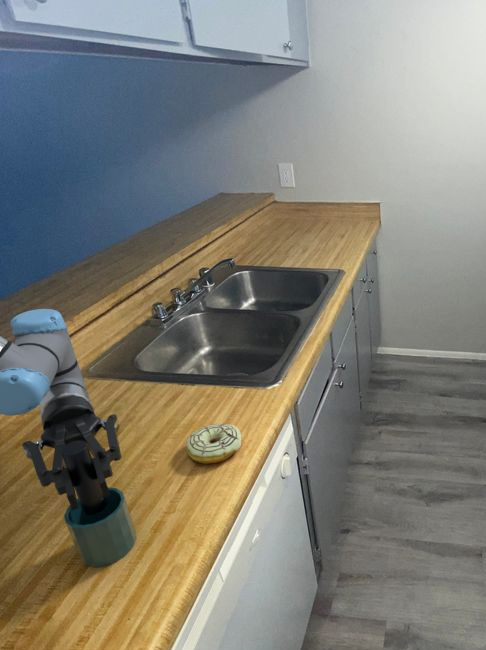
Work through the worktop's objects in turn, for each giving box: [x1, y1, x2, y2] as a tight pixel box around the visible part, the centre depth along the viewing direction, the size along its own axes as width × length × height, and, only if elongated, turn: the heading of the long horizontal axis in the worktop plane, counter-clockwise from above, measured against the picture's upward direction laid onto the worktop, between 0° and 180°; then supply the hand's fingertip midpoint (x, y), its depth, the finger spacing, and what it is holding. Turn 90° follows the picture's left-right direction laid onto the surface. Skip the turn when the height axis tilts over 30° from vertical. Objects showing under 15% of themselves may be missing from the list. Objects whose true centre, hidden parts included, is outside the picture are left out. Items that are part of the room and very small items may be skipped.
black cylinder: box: [61, 441, 107, 515], centre depth 71 cm, size 3×3×12 cm
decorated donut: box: [185, 423, 243, 465], centre depth 98 cm, size 10×11×4 cm
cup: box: [63, 486, 137, 568], centre depth 76 cm, size 8×8×9 cm
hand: (89, 495), depth 67 cm, fingers closed on black cylinder, 3 cm apart
